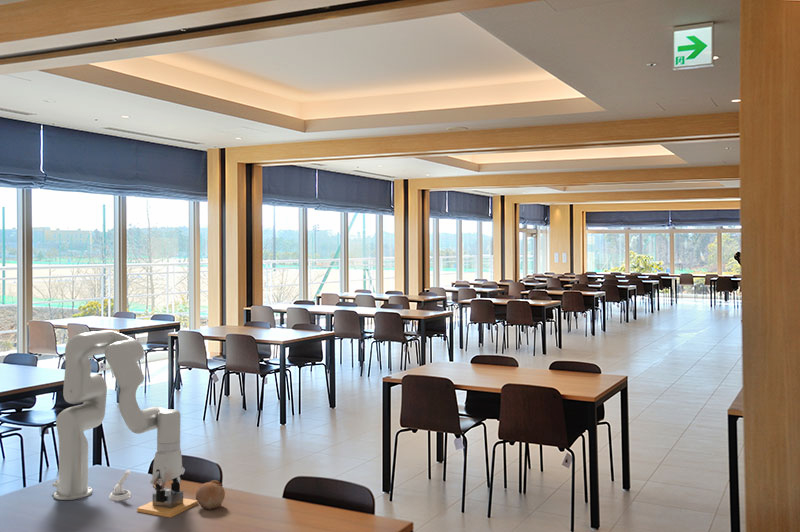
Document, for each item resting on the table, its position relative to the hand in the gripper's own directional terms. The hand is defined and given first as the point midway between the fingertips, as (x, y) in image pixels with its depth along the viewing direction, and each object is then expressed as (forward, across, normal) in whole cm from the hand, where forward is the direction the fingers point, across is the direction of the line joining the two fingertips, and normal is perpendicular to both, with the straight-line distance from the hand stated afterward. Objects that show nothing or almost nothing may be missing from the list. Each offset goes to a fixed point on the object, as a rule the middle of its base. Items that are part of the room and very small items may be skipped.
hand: (168, 497), depth 236 cm
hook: (+4, -2, -23) cm, 23 cm away
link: (+2, 0, 0) cm, 2 cm away
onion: (+4, -6, +13) cm, 15 cm away
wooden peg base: (+3, 0, 0) cm, 3 cm away
